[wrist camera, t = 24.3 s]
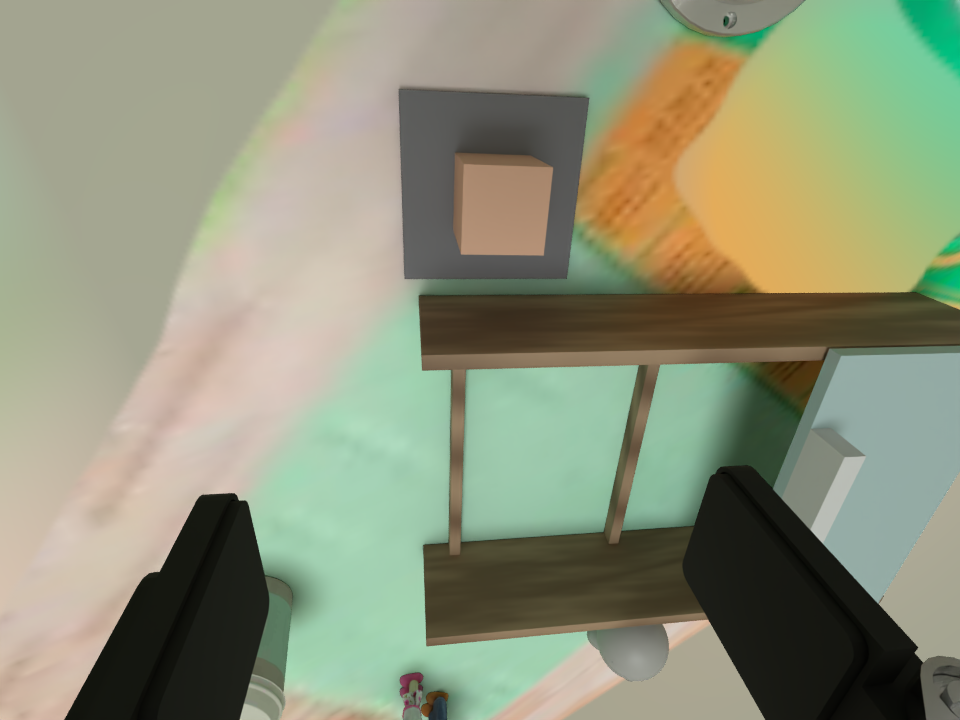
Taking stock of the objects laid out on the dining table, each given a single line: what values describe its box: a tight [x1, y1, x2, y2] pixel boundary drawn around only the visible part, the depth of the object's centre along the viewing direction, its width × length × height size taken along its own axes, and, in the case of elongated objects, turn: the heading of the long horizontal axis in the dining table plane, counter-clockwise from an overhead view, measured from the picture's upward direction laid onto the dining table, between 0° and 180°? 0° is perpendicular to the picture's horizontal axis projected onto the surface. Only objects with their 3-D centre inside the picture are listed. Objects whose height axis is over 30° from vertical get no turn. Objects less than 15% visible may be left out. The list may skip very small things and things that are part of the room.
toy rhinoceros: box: [587, 624, 669, 681], centre depth 53 cm, size 7×12×8 cm, turn 170°
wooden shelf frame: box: [419, 292, 960, 646], centre depth 42 cm, size 27×42×10 cm, turn 88°
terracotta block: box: [453, 153, 553, 256], centre depth 32 cm, size 5×5×6 cm
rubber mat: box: [399, 89, 589, 279], centre depth 34 cm, size 12×12×1 cm
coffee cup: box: [240, 576, 293, 720], centre depth 45 cm, size 8×9×12 cm
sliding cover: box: [773, 346, 960, 603], centre depth 37 cm, size 27×14×4 cm, turn 178°
